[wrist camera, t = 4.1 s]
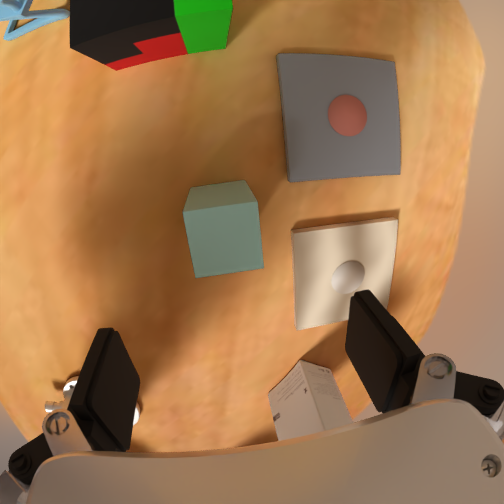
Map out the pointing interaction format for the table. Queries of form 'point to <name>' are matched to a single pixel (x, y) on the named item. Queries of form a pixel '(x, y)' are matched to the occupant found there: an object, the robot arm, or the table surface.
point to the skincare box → (307, 402)
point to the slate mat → (339, 116)
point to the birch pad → (340, 268)
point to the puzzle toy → (147, 29)
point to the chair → (27, 17)
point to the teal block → (223, 229)
